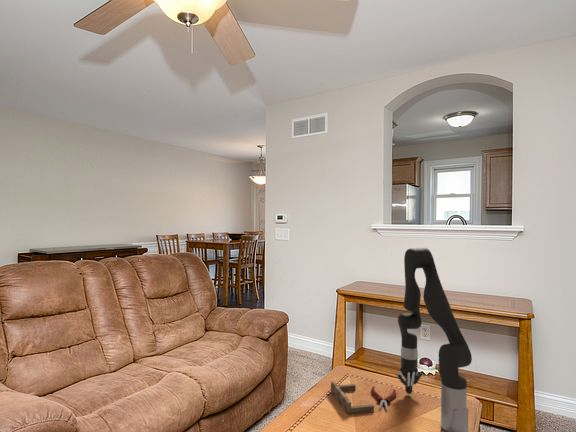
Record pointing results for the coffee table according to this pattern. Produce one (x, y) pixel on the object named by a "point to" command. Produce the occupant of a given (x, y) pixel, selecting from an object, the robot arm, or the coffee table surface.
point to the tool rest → (345, 402)
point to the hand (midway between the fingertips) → (408, 393)
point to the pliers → (380, 399)
